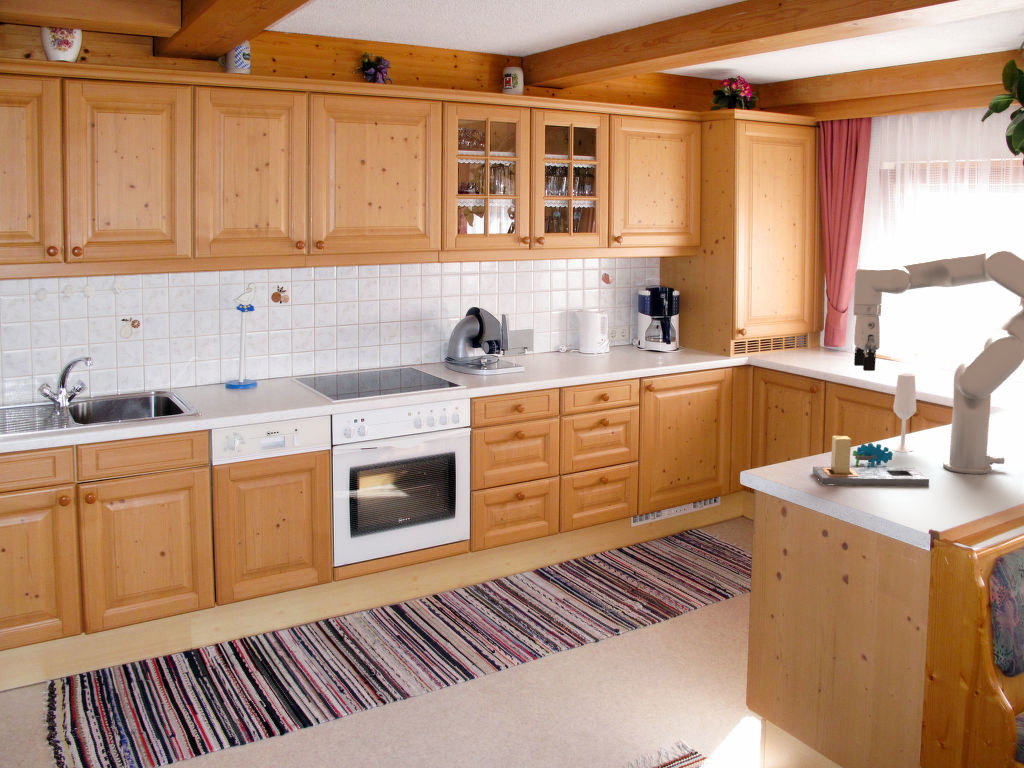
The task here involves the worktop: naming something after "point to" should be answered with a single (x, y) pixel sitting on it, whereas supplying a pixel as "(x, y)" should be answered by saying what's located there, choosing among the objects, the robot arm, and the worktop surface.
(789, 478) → the worktop surface
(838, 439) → the peg
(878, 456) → the gear
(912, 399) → the champagne flute
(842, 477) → the rail plate
